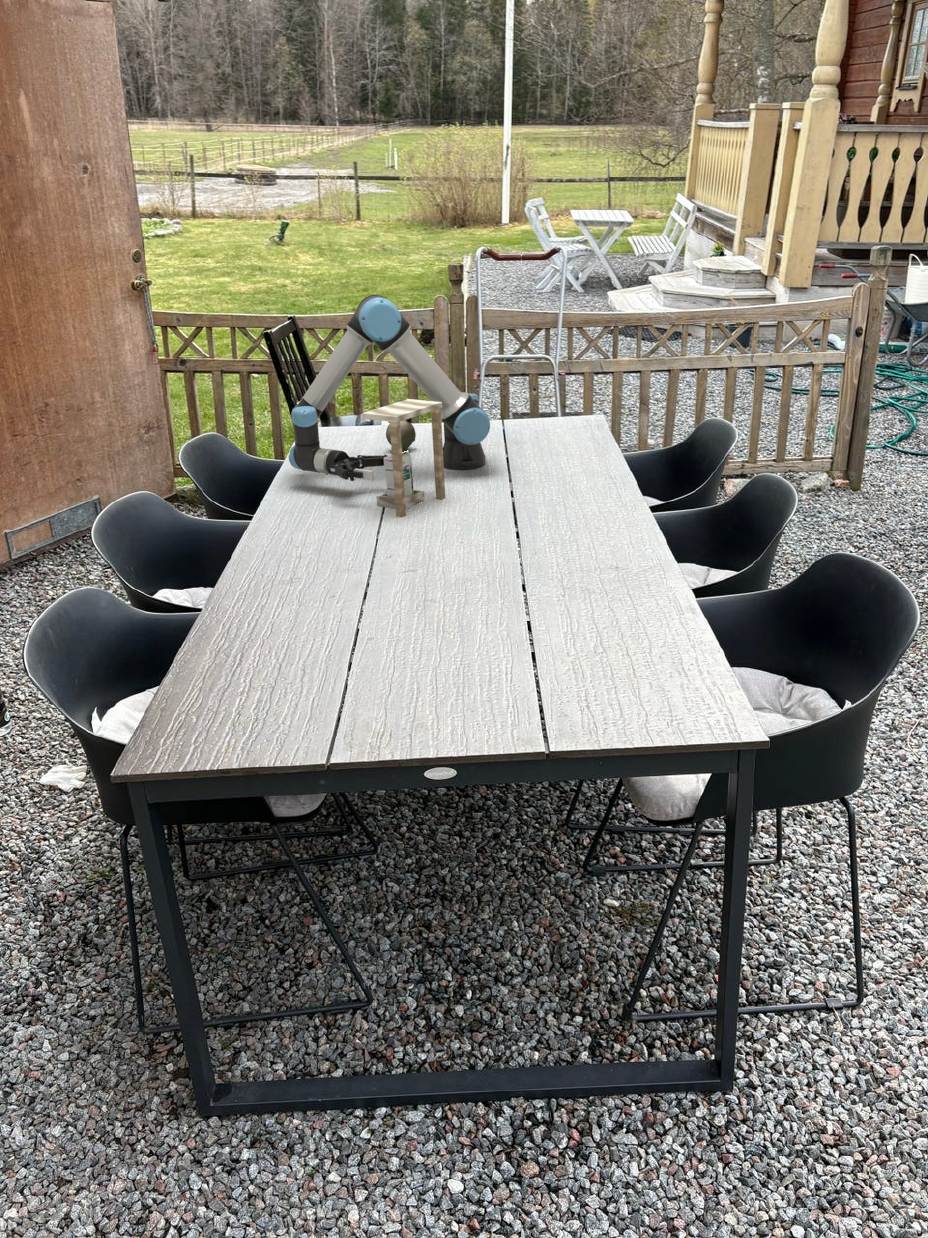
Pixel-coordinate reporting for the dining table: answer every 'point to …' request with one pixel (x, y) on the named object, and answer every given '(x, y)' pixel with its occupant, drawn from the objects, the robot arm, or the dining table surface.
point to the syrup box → (406, 471)
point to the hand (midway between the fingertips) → (387, 470)
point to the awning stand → (394, 416)
